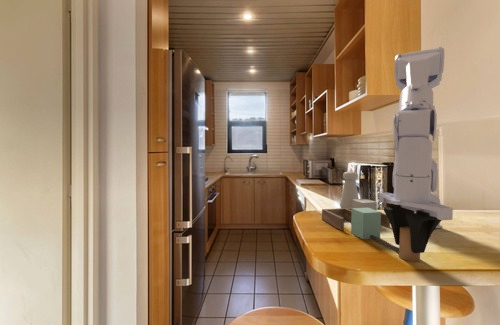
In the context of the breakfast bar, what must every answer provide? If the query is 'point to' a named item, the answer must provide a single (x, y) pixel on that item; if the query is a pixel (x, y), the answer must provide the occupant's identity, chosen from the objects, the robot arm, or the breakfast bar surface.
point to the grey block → (364, 203)
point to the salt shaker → (349, 189)
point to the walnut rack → (345, 217)
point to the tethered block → (368, 227)
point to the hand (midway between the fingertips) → (409, 248)
